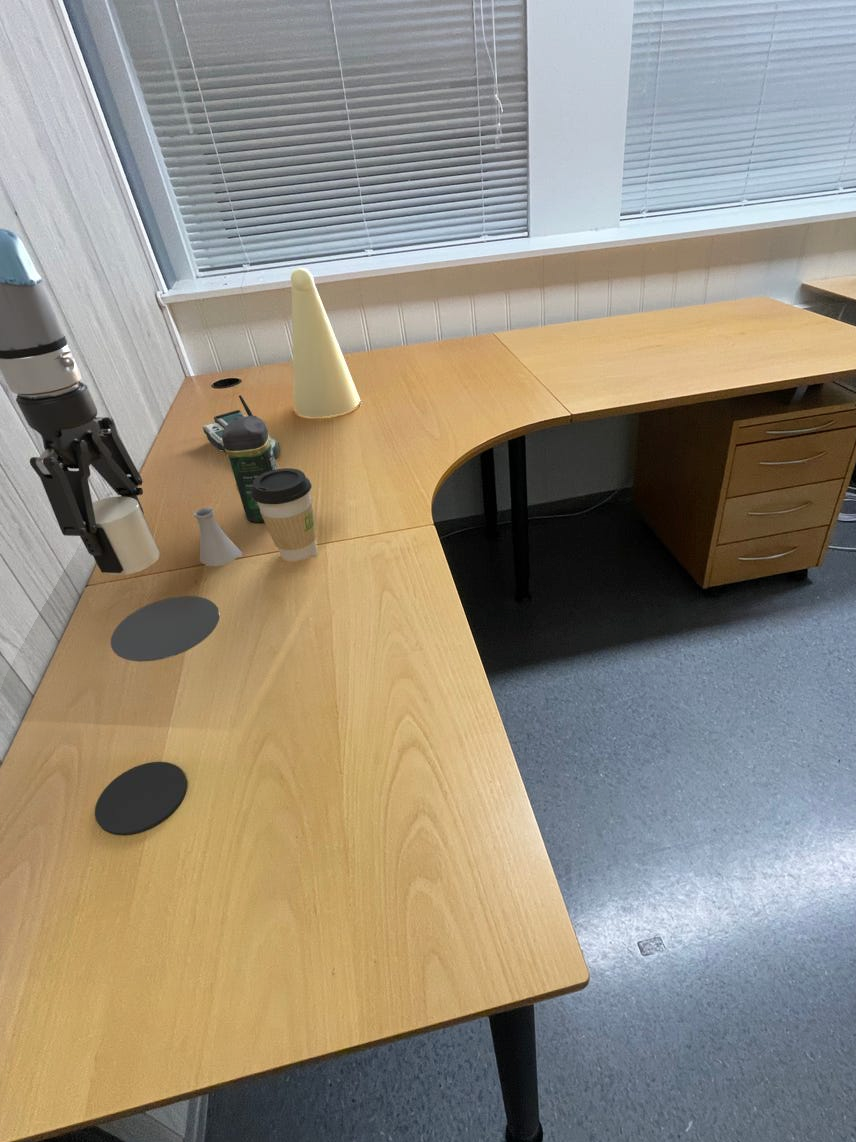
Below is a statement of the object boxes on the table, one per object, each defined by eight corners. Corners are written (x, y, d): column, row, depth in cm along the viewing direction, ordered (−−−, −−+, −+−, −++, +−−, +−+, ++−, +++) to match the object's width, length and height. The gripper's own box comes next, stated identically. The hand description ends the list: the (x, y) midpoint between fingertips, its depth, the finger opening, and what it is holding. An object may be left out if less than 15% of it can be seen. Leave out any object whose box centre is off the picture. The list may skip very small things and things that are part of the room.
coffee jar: (285, 522, 122) (259, 429, 110) (244, 526, 121) (213, 433, 109) (290, 499, 129) (266, 410, 117) (252, 503, 129) (223, 414, 117)
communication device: (243, 473, 141) (231, 435, 135) (204, 442, 155) (192, 406, 149) (291, 456, 146) (282, 419, 140) (250, 428, 161) (239, 393, 155)
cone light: (293, 399, 176) (259, 256, 153) (357, 391, 179) (333, 249, 156) (294, 431, 158) (256, 274, 135) (366, 422, 160) (340, 266, 138)
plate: (92, 665, 92) (88, 659, 91) (147, 600, 104) (144, 594, 103) (194, 669, 90) (191, 662, 89) (238, 602, 102) (235, 596, 101)
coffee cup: (338, 549, 113) (321, 473, 103) (301, 577, 107) (279, 498, 97) (299, 537, 117) (278, 462, 108) (260, 563, 111) (235, 486, 101)
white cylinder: (91, 574, 85) (63, 523, 80) (120, 545, 91) (96, 495, 86) (143, 576, 85) (118, 524, 79) (169, 546, 90) (148, 496, 85)
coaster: (78, 832, 70) (76, 830, 69) (125, 762, 77) (124, 759, 77) (161, 838, 69) (160, 835, 68) (201, 766, 76) (200, 763, 76)
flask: (226, 575, 109) (208, 524, 102) (192, 569, 110) (172, 519, 104) (250, 553, 114) (234, 504, 107) (217, 548, 116) (199, 499, 109)
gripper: (21, 421, 64) (114, 598, 79) (126, 360, 80) (187, 518, 95) (-45, 421, 65) (59, 597, 80) (72, 361, 81) (140, 518, 95)
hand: (128, 554), depth 87 cm, fingers closed on white cylinder, 8 cm apart
